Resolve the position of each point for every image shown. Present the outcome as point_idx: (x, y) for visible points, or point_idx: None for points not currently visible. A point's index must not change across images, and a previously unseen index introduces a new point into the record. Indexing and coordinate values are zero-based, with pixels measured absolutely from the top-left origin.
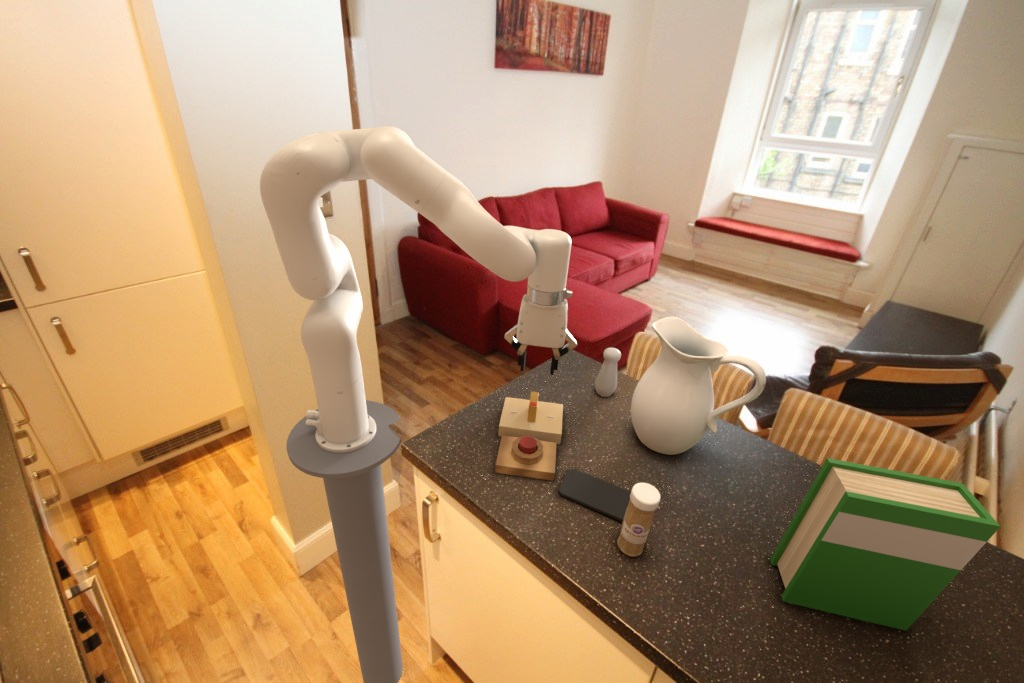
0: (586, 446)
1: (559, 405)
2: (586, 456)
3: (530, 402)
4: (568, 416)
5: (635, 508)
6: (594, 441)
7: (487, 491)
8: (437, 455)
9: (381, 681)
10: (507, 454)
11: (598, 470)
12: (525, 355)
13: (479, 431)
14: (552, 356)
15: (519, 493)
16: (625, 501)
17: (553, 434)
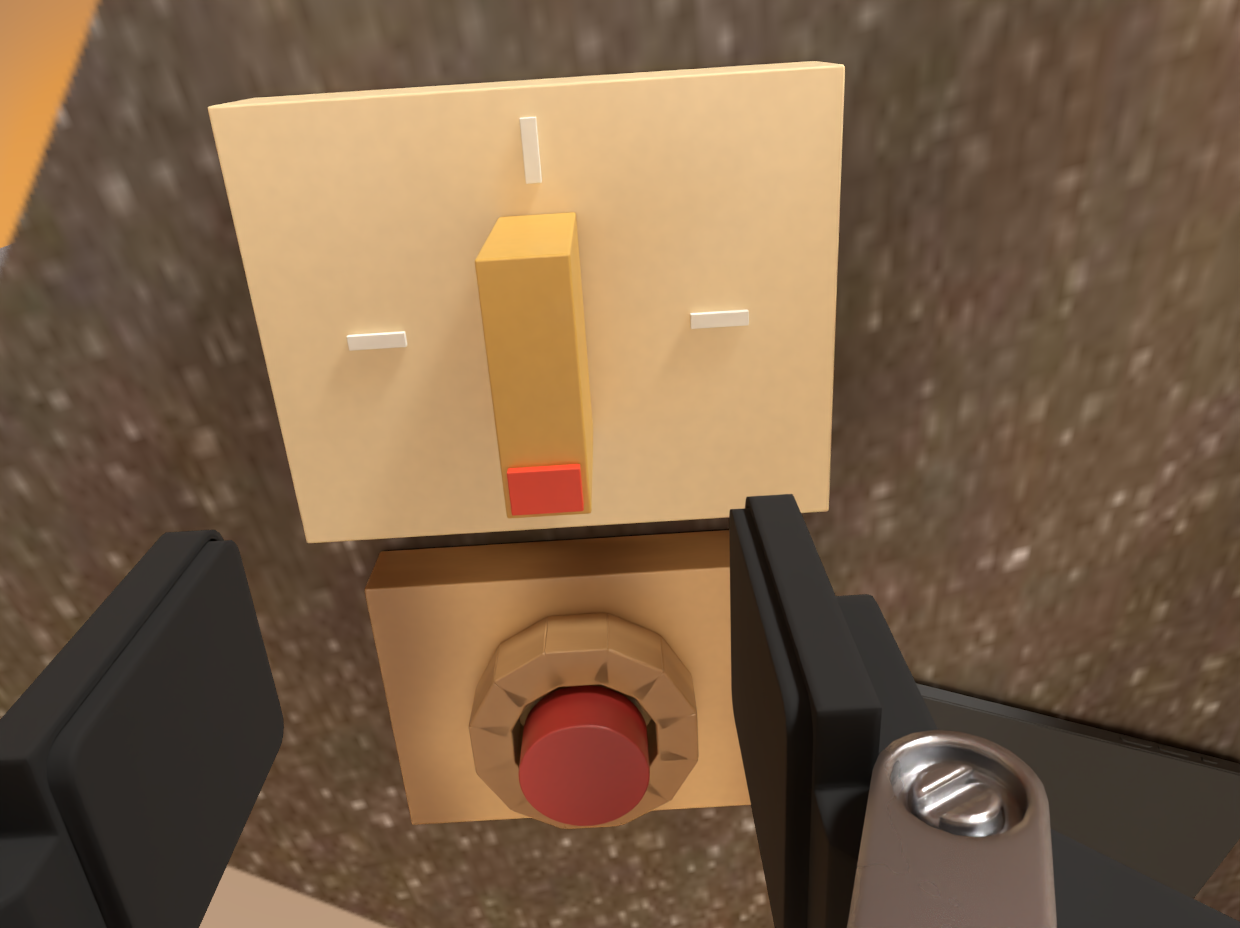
0: (1007, 432)
1: (807, 101)
2: (994, 528)
3: (512, 486)
4: (884, 80)
5: None
6: (1081, 363)
7: (426, 881)
8: None
9: None
10: (460, 741)
11: (1057, 624)
12: (146, 802)
13: (180, 479)
14: (791, 858)
15: (593, 858)
16: (1171, 830)
17: None
